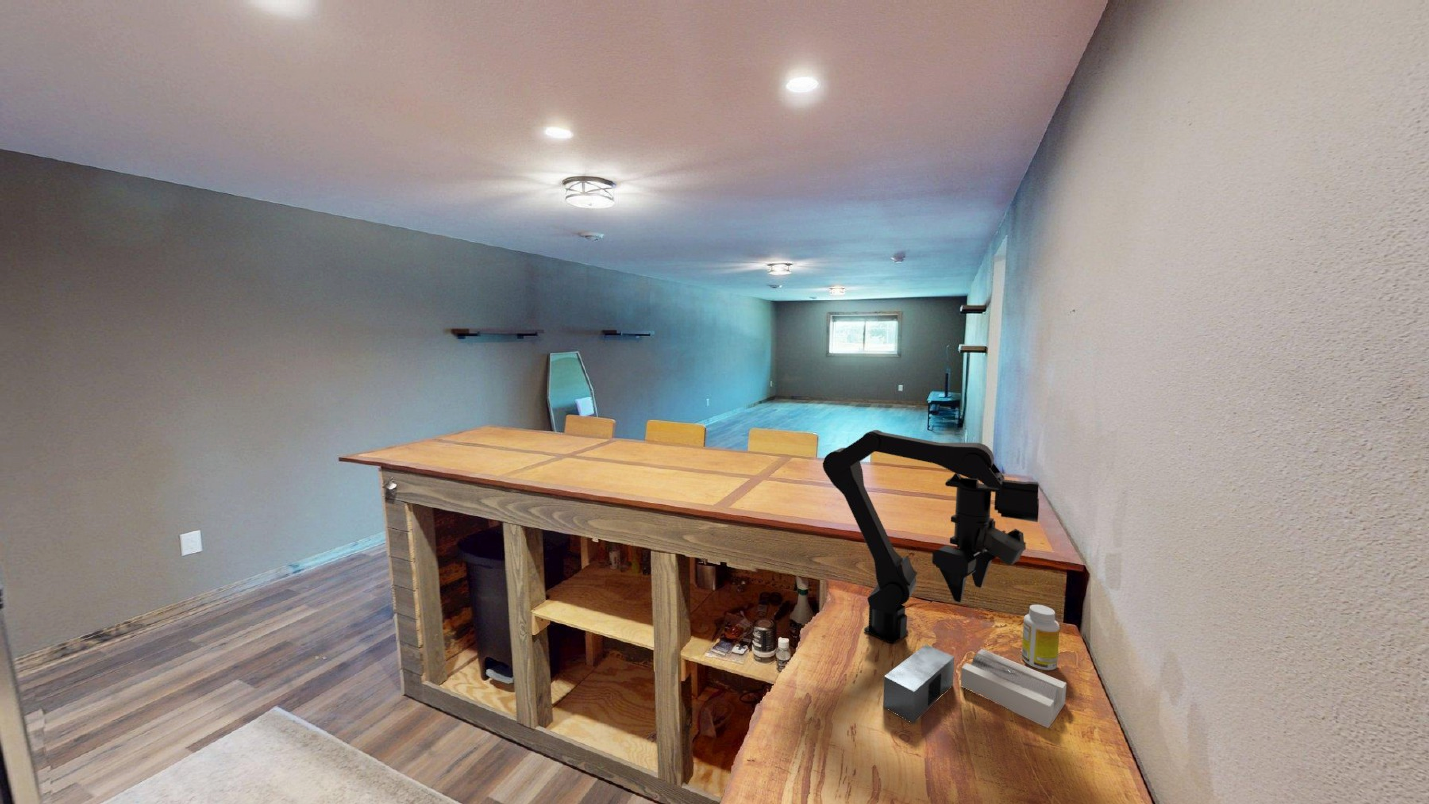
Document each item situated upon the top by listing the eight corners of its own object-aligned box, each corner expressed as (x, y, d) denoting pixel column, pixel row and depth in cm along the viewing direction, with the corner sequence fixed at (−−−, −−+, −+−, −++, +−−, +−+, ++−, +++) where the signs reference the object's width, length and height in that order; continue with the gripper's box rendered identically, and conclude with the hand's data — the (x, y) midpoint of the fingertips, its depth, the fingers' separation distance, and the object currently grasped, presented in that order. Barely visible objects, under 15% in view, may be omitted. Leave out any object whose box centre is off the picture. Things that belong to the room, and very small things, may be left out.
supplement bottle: (1063, 667, 93) (1067, 613, 92) (1045, 675, 91) (1048, 619, 90) (1033, 651, 98) (1036, 599, 97) (1014, 658, 96) (1017, 605, 95)
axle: (970, 676, 88) (971, 659, 88) (978, 669, 90) (978, 652, 90) (1051, 712, 79) (1052, 693, 79) (1057, 703, 82) (1058, 684, 81)
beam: (882, 707, 82) (884, 676, 81) (924, 672, 91) (925, 644, 91) (912, 723, 78) (914, 691, 78) (952, 685, 87) (954, 656, 87)
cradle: (960, 686, 87) (961, 667, 87) (980, 667, 93) (981, 648, 92) (1048, 728, 77) (1049, 706, 77) (1065, 703, 83) (1066, 682, 83)
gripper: (1000, 534, 82) (995, 628, 83) (1038, 512, 94) (1033, 594, 96) (932, 518, 90) (928, 603, 92) (975, 499, 103) (971, 575, 104)
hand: (968, 593), depth 95 cm, fingers open, 9 cm apart
